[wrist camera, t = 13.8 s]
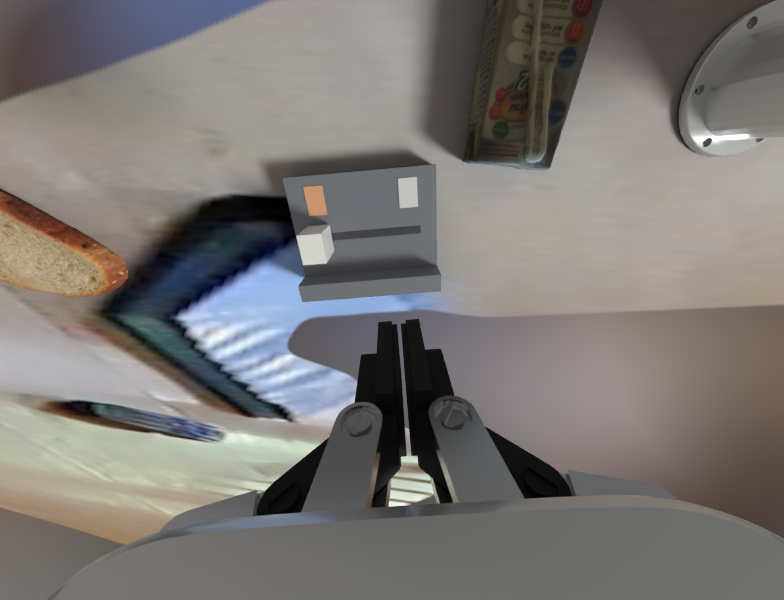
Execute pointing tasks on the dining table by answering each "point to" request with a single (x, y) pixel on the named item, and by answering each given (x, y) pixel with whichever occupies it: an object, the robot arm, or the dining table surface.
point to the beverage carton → (527, 79)
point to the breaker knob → (315, 244)
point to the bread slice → (53, 254)
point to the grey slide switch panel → (369, 231)
